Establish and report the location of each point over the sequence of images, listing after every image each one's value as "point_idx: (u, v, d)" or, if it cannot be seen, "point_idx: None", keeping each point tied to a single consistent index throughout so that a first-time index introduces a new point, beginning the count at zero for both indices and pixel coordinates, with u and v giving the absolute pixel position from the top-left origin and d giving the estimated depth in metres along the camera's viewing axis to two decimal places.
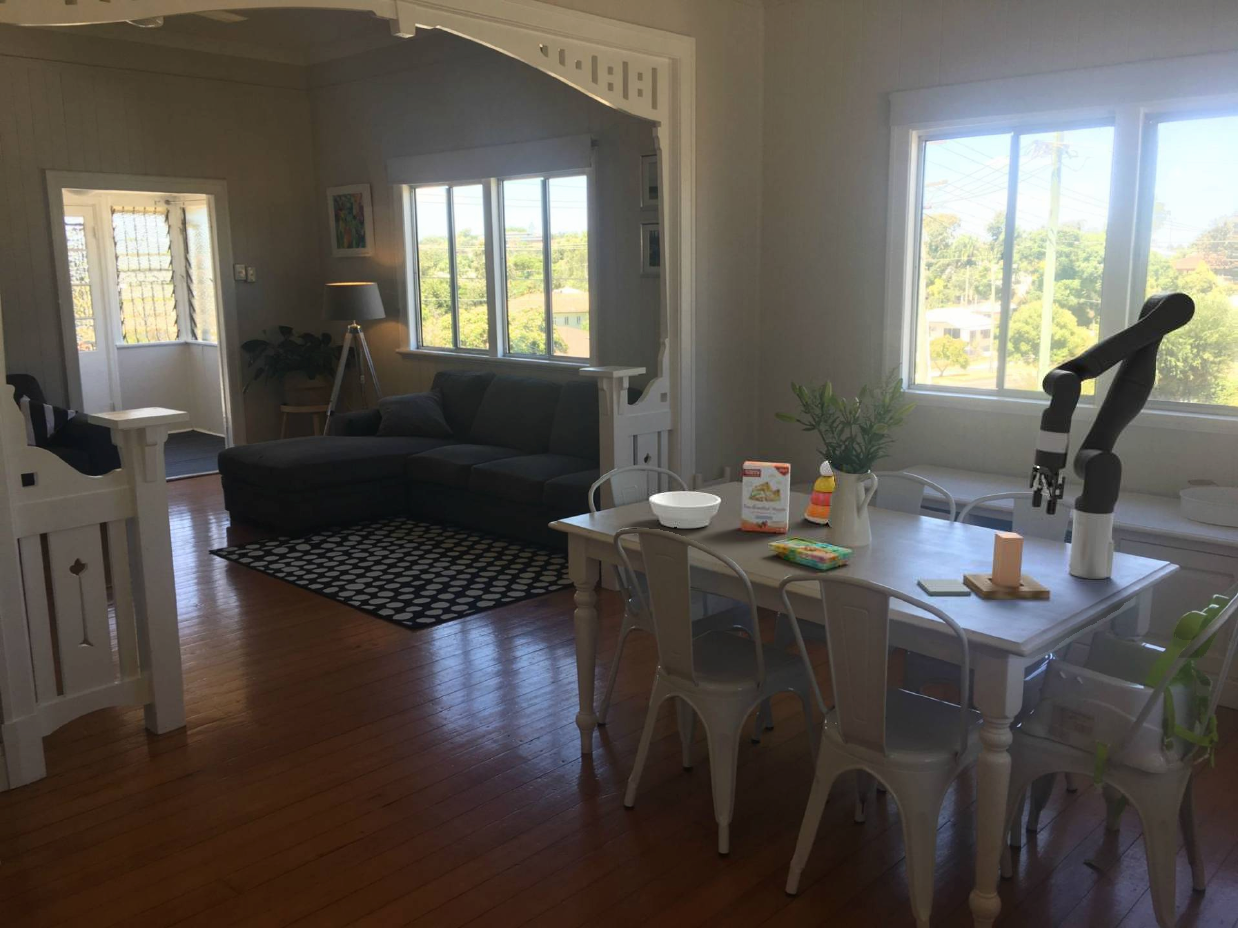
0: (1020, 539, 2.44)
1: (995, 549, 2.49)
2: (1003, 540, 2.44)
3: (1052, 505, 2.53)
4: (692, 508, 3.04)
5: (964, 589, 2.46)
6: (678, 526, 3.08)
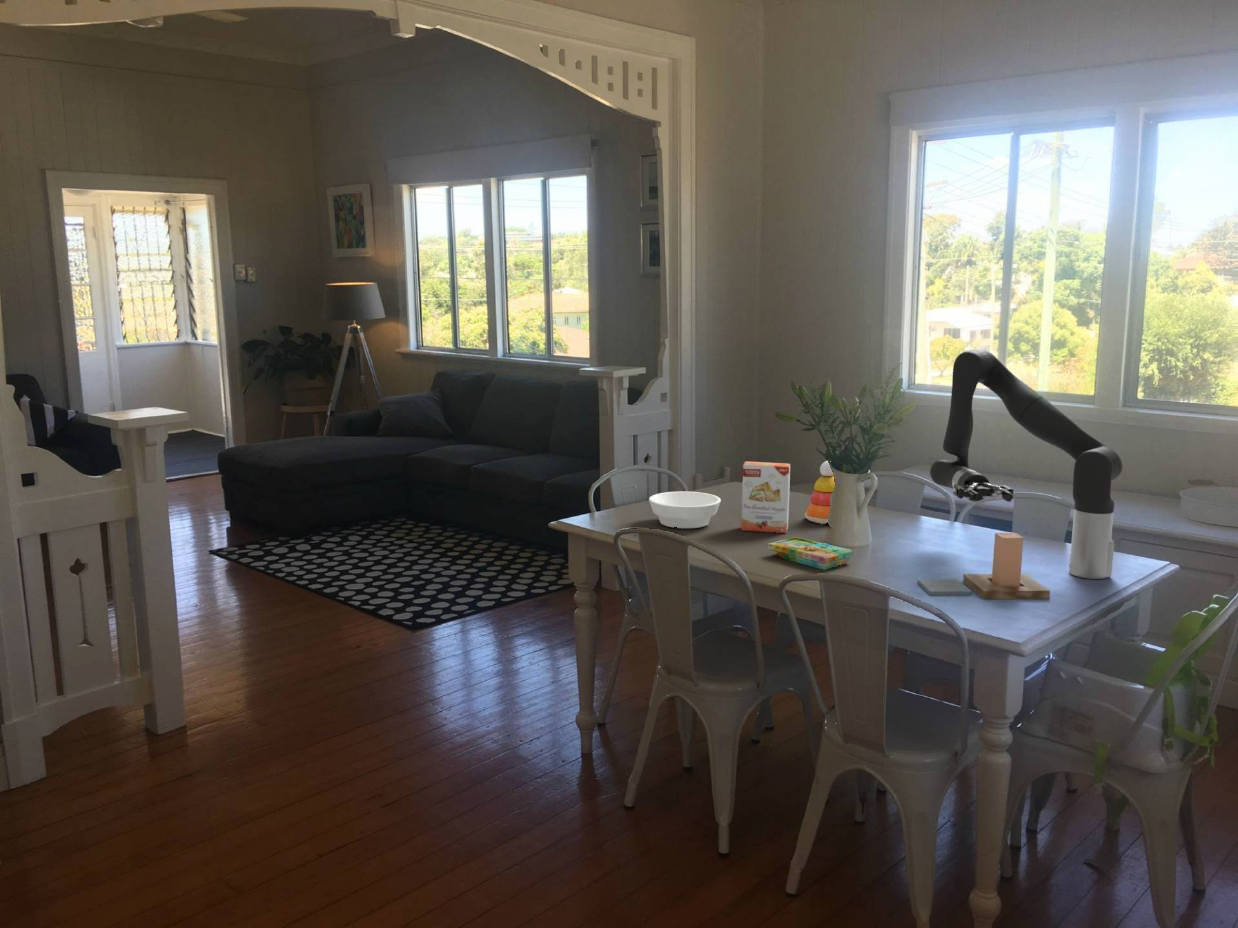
0: (1020, 539, 2.44)
1: (995, 549, 2.49)
2: (1003, 540, 2.44)
3: (969, 496, 2.59)
4: (692, 508, 3.04)
5: (964, 589, 2.46)
6: (678, 526, 3.08)
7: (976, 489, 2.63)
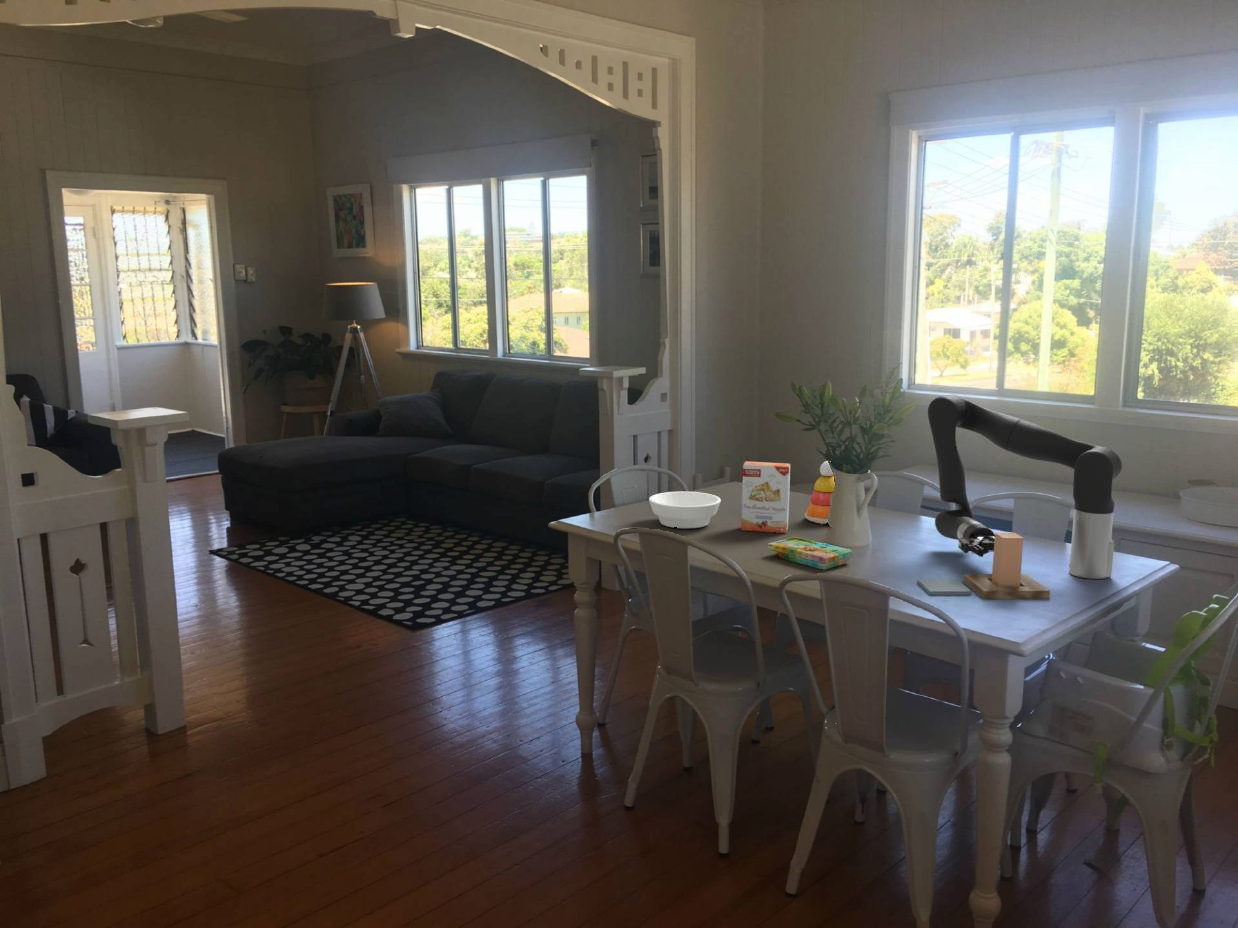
0: (1020, 539, 2.44)
1: (995, 549, 2.49)
2: (1003, 540, 2.44)
3: (974, 551, 2.55)
4: (692, 508, 3.04)
5: (964, 589, 2.46)
6: (678, 526, 3.08)
7: (981, 543, 2.59)
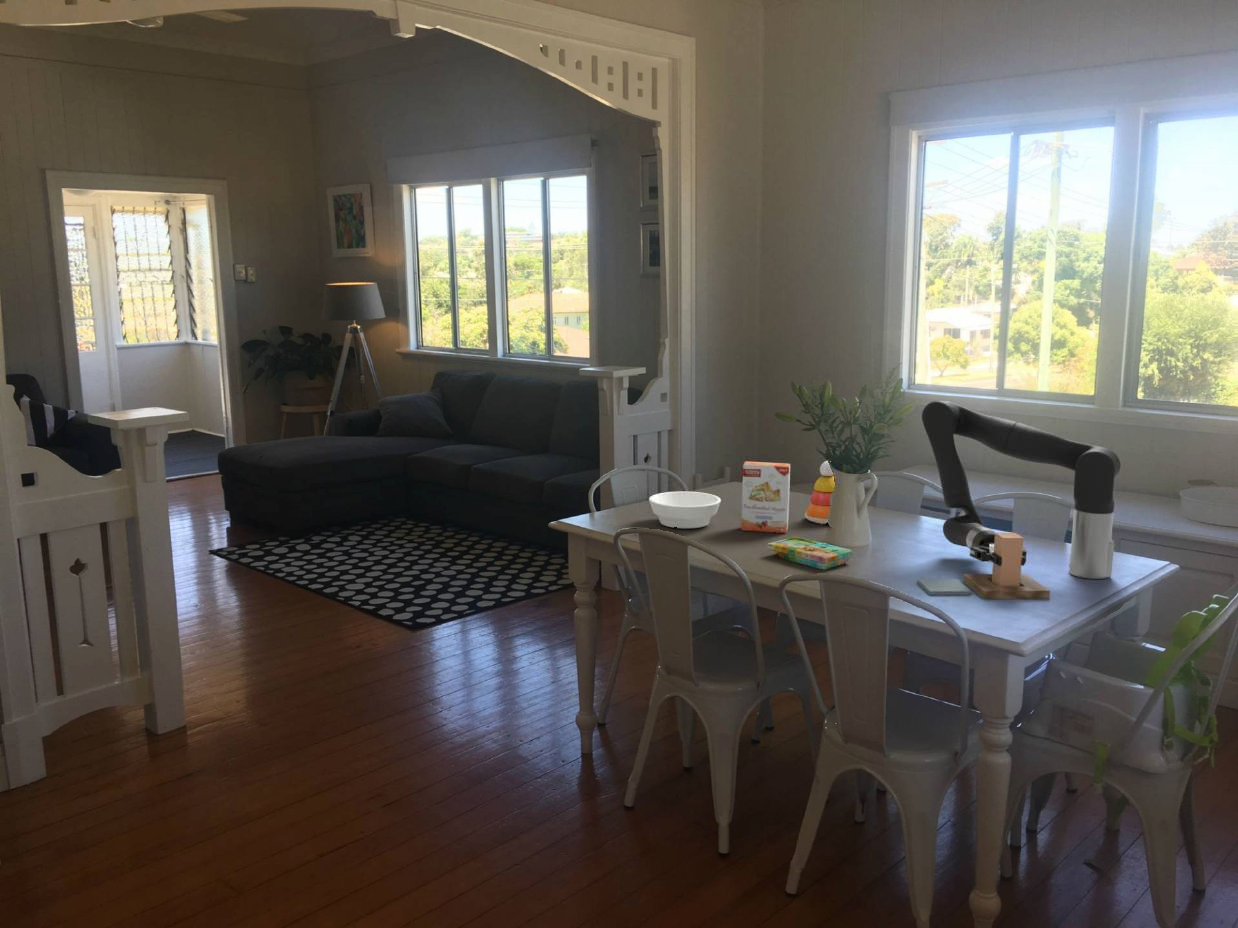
0: (1020, 539, 2.44)
1: (995, 549, 2.49)
2: (1003, 539, 2.44)
3: (992, 559, 2.48)
4: (692, 508, 3.04)
5: (964, 589, 2.46)
6: (678, 526, 3.08)
7: None
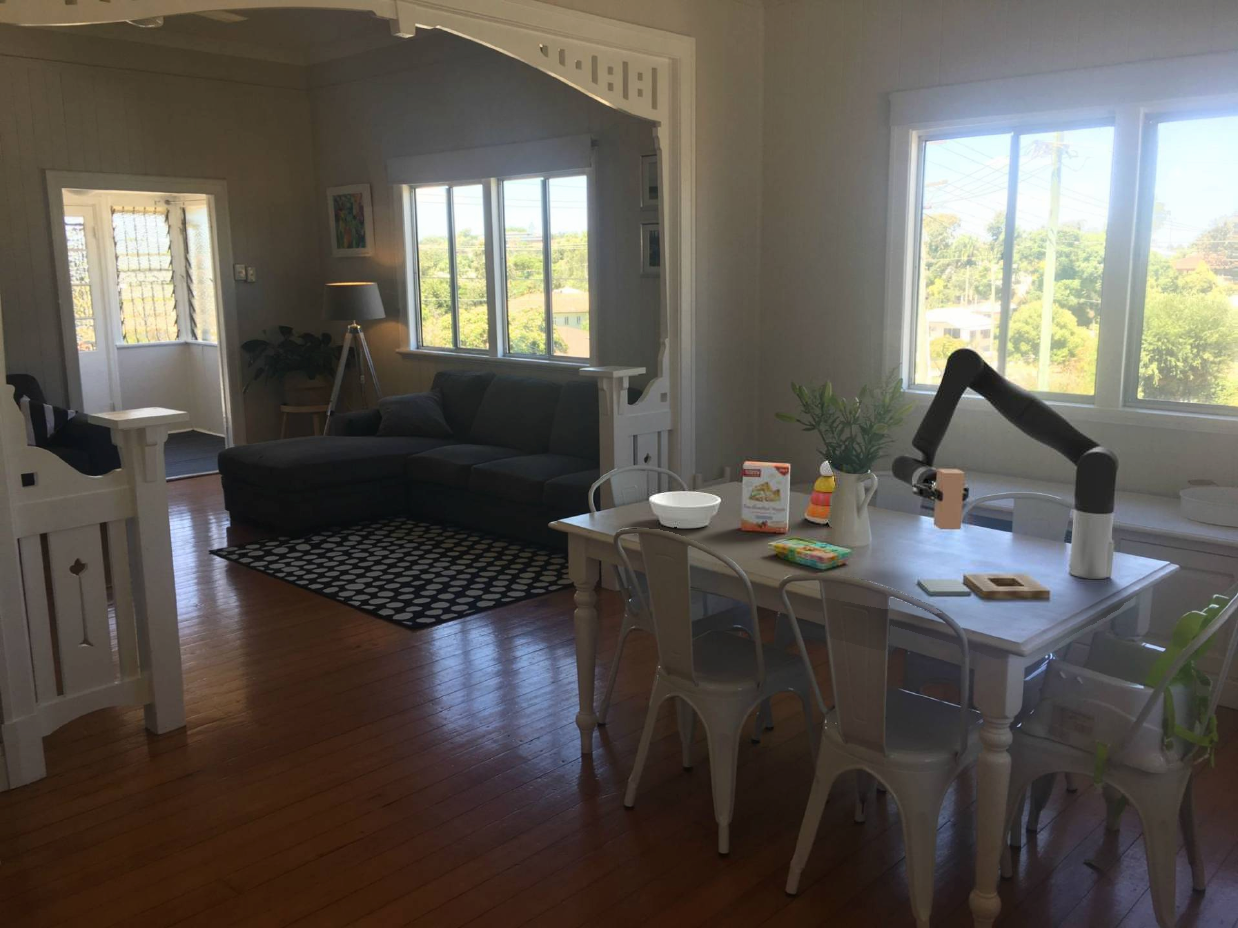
0: (961, 474, 2.42)
1: (937, 485, 2.47)
2: (944, 475, 2.42)
3: (934, 495, 2.46)
4: (692, 508, 3.04)
5: (964, 589, 2.46)
6: (678, 526, 3.08)
7: None
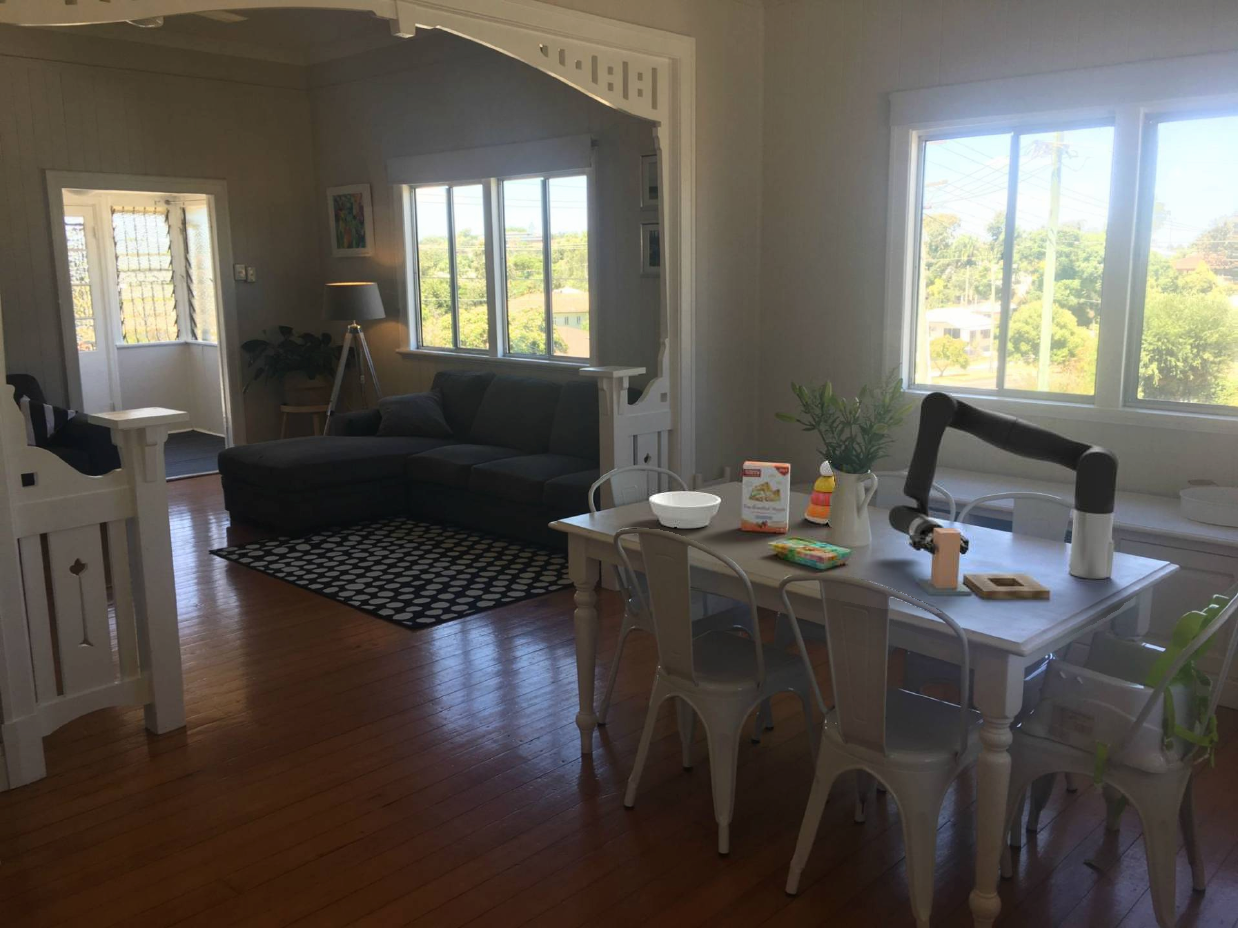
0: (958, 534, 2.45)
1: (934, 544, 2.50)
2: (940, 534, 2.45)
3: (926, 548, 2.48)
4: (692, 508, 3.04)
5: (964, 589, 2.46)
6: (678, 526, 3.08)
7: None
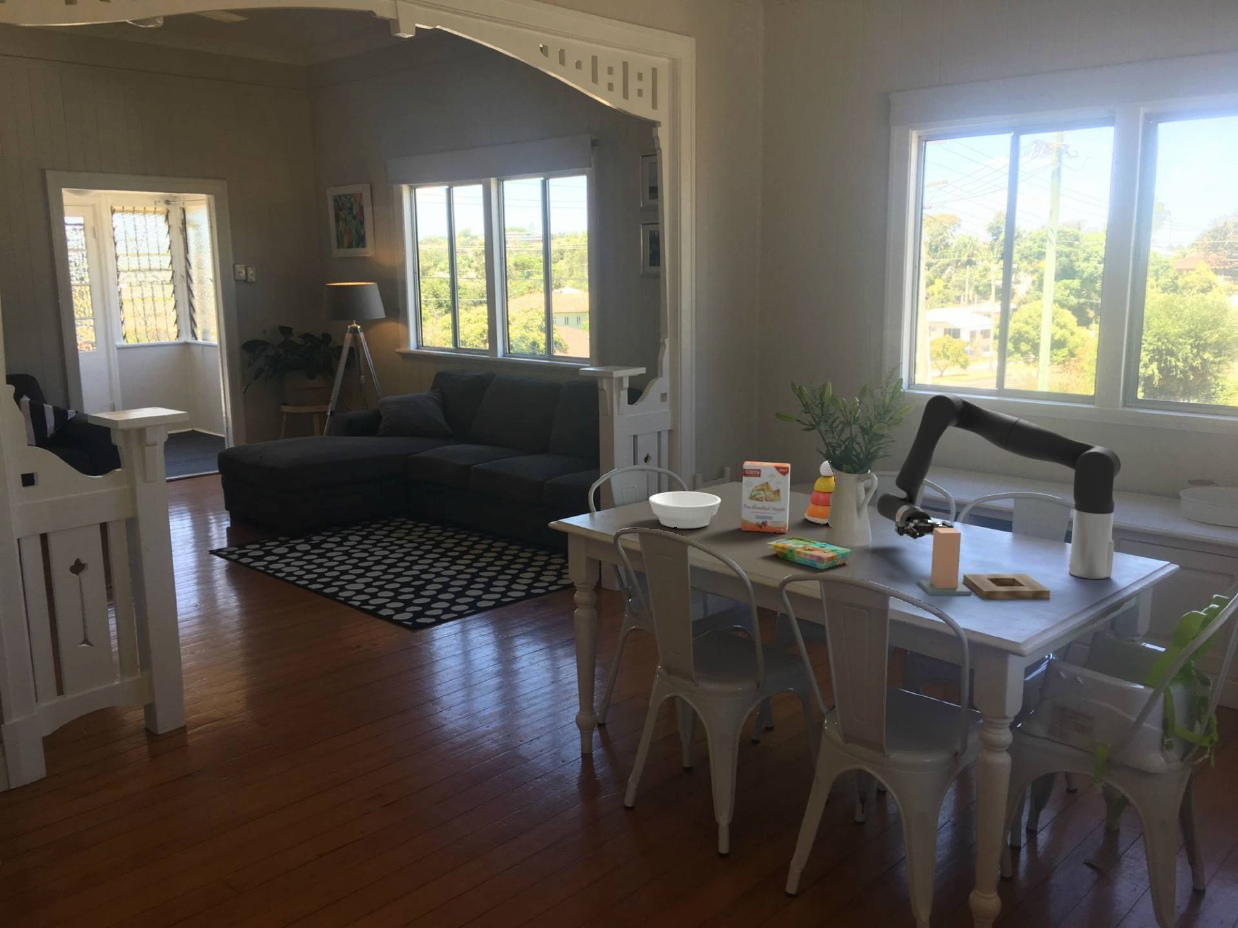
0: (958, 534, 2.45)
1: (934, 544, 2.49)
2: (941, 535, 2.45)
3: (909, 533, 2.61)
4: (692, 508, 3.04)
5: (964, 589, 2.46)
6: (678, 526, 3.08)
7: (917, 526, 2.65)
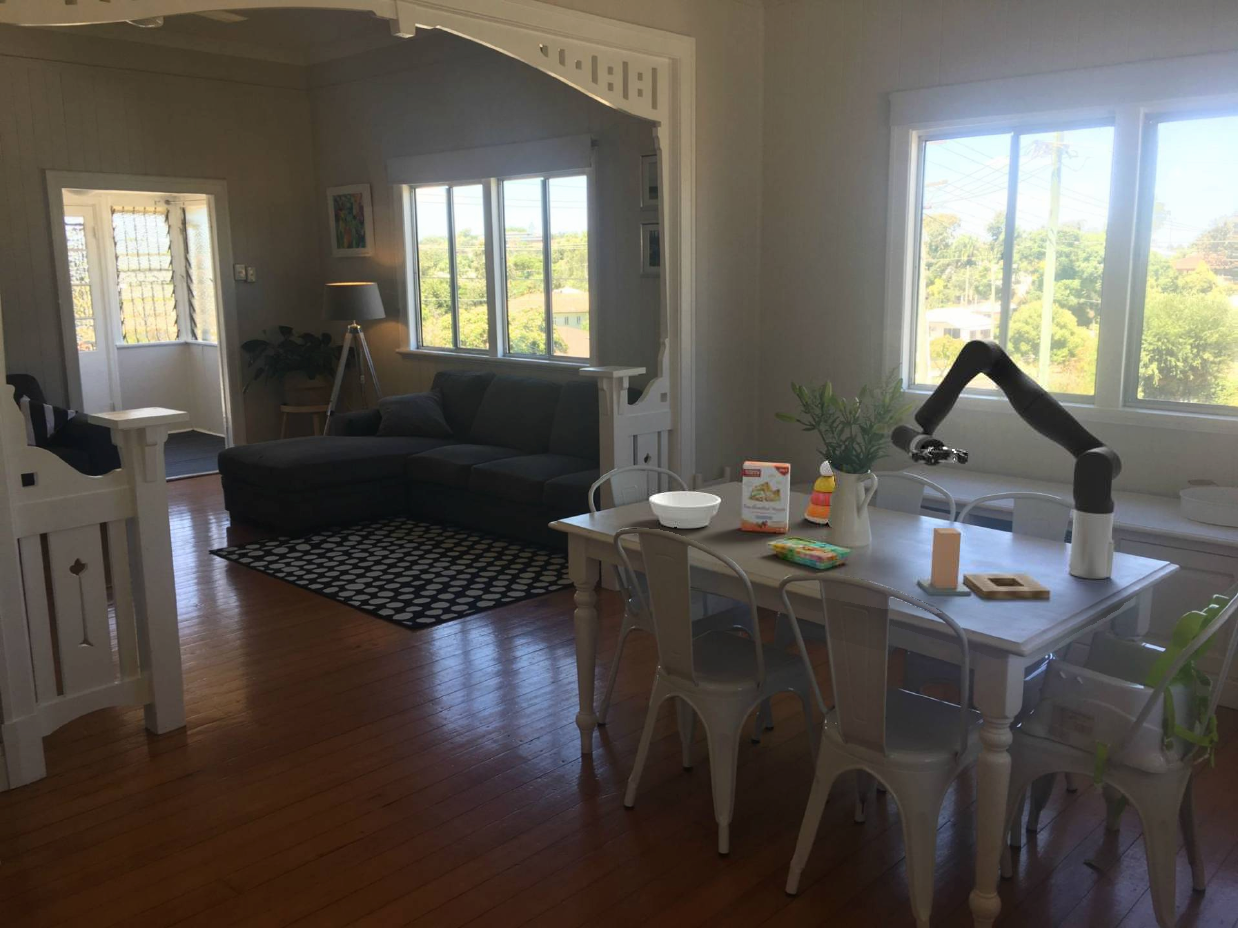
0: (958, 534, 2.45)
1: (934, 544, 2.49)
2: (941, 535, 2.45)
3: (924, 459, 2.61)
4: (692, 508, 3.04)
5: (964, 589, 2.46)
6: (678, 526, 3.08)
7: (931, 453, 2.65)
